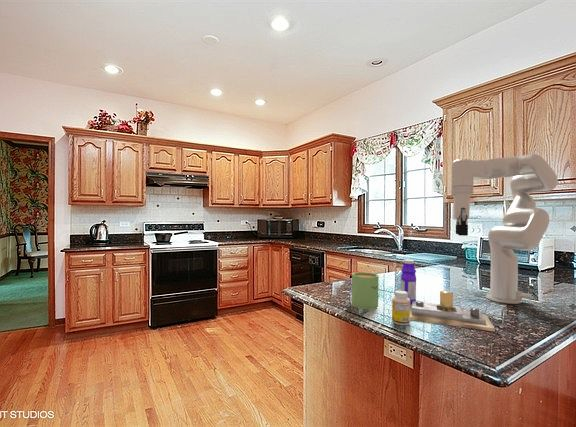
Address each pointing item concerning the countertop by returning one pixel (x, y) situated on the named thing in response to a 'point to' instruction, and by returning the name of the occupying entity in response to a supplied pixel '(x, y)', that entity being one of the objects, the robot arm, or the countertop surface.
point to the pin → (446, 301)
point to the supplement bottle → (401, 308)
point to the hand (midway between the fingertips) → (461, 234)
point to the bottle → (409, 279)
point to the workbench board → (454, 322)
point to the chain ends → (447, 313)
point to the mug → (365, 290)
